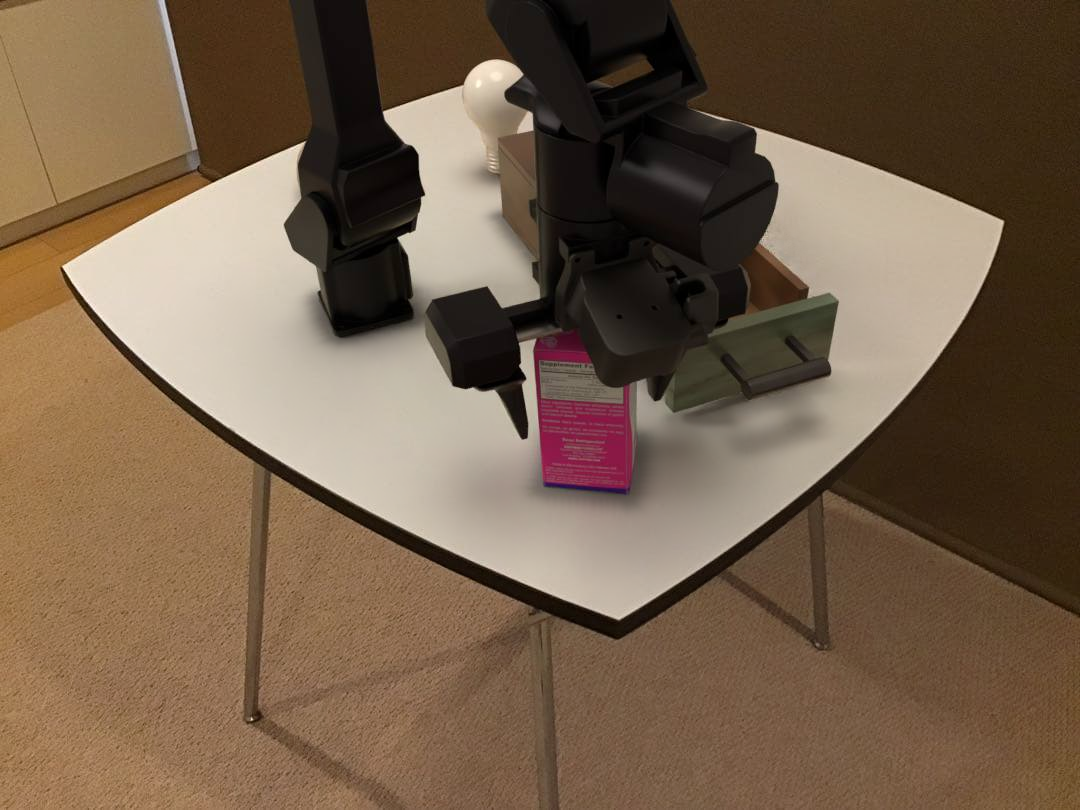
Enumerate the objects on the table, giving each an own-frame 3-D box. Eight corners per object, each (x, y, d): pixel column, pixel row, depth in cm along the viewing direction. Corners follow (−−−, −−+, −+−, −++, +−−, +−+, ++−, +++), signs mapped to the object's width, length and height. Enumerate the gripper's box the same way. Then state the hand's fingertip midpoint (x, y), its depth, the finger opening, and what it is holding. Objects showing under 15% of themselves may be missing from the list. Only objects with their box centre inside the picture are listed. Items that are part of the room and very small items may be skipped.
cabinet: (737, 282, 85) (746, 199, 80) (585, 323, 81) (584, 238, 76) (636, 184, 98) (639, 108, 93) (502, 215, 95) (497, 137, 90)
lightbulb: (511, 194, 98) (504, 81, 90) (456, 179, 100) (445, 68, 93) (546, 166, 102) (542, 56, 95) (492, 152, 104) (485, 44, 97)
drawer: (863, 402, 71) (878, 334, 68) (703, 452, 68) (710, 383, 64) (707, 251, 87) (712, 188, 83) (571, 285, 84) (570, 222, 80)
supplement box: (552, 430, 72) (547, 291, 64) (638, 437, 71) (643, 297, 63) (538, 488, 67) (531, 347, 60) (629, 497, 66) (634, 354, 59)
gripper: (473, 315, 48) (494, 545, 58) (819, 228, 53) (783, 454, 63) (407, 208, 56) (435, 426, 66) (712, 141, 61) (696, 353, 71)
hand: (589, 416), depth 66 cm, fingers open, 9 cm apart
